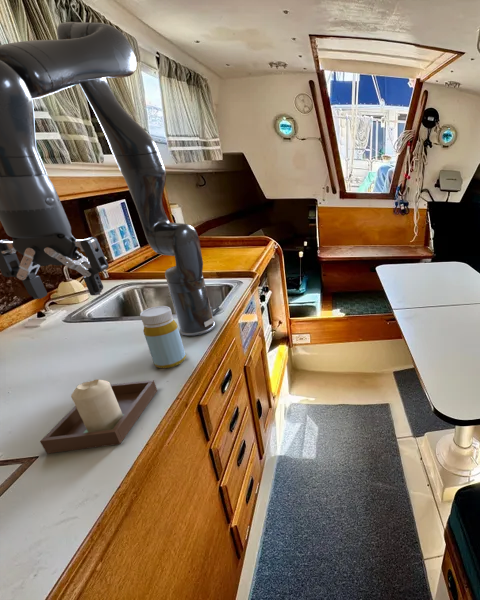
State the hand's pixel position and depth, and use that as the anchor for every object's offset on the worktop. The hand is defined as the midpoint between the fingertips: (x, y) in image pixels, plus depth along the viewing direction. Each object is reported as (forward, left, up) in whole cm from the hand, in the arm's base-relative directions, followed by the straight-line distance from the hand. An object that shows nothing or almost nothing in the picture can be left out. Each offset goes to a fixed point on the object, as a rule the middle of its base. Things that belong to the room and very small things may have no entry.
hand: (69, 295), depth 59 cm
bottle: (-17, +4, -27) cm, 32 cm away
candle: (+6, +1, -26) cm, 27 cm away
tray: (+3, 0, -27) cm, 27 cm away
